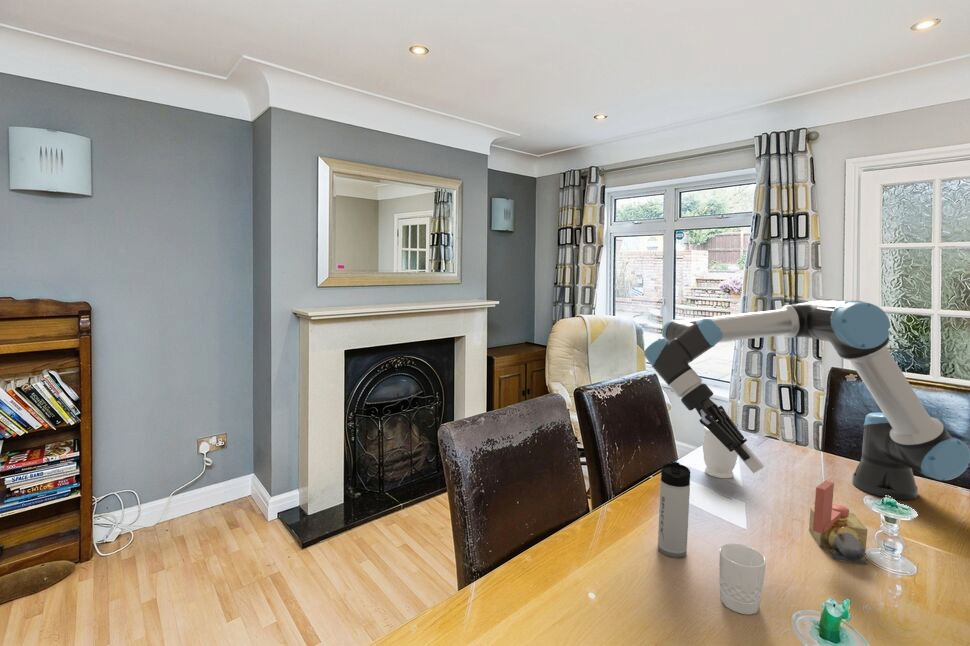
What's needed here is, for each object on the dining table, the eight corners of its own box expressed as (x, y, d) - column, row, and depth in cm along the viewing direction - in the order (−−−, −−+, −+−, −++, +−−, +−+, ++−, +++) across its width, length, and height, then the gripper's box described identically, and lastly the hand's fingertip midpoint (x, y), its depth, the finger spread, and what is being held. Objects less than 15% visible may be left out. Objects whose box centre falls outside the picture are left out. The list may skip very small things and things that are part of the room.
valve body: (802, 520, 127) (804, 495, 126) (842, 526, 124) (844, 500, 124) (827, 560, 109) (830, 531, 108) (875, 568, 106) (878, 538, 106)
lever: (806, 528, 109) (810, 485, 108) (831, 507, 119) (834, 468, 118) (827, 536, 106) (831, 491, 105) (850, 514, 116) (854, 473, 115)
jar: (741, 481, 150) (744, 434, 149) (705, 478, 152) (708, 432, 151) (731, 468, 161) (734, 424, 159) (698, 466, 163) (700, 422, 161)
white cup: (709, 591, 98) (711, 544, 97) (746, 589, 99) (749, 542, 98) (731, 618, 90) (735, 567, 89) (772, 616, 91) (775, 565, 90)
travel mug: (685, 545, 115) (689, 463, 113) (687, 560, 109) (691, 474, 107) (657, 540, 117) (661, 459, 115) (657, 555, 111) (661, 470, 109)
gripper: (689, 394, 133) (752, 469, 124) (671, 403, 124) (739, 485, 114) (710, 378, 129) (777, 454, 120) (694, 386, 120) (766, 470, 110)
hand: (758, 469), depth 117 cm, fingers closed
